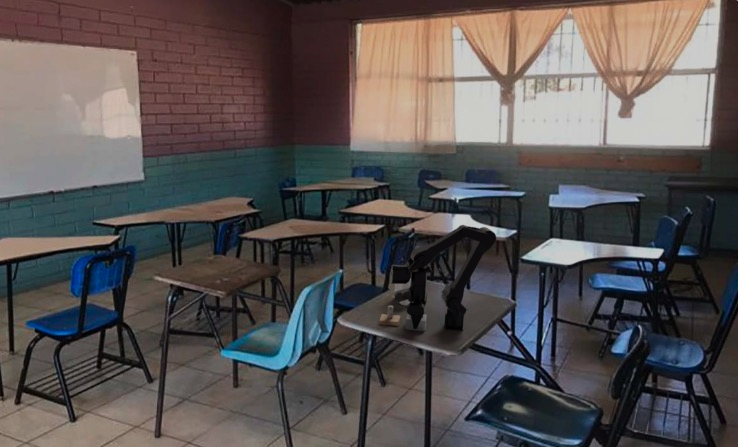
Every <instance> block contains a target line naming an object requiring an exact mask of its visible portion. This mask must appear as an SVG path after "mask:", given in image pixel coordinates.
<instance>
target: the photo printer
mask: <svg viewBox="0 0 738 447" xmlns="http://www.w3.org/2000/svg"><path fill="white" fill-rule="evenodd" d="M410 284H411V278H410V281H409V282H407V284H394V293H395V292H396V291H399V290H402V289H407V288H409V287H410ZM393 296H394V295H393ZM393 298H395V296H394V297H393ZM409 303H410V301H408V300H404V301H401V302H399V304H400V305H402V306H407V305H408V304H409Z"/></svg>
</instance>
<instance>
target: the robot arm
mask: <svg viewBox="0 0 738 447" xmlns="http://www.w3.org/2000/svg"><path fill="white" fill-rule="evenodd" d="M464 239H470V240H473V242H472V248H471V250H470V252H469V253H468V255H467V257H466V259H465V261H464V263H463V265H462V267H461V268H460V269H459V272H458V274H457V275H456V277H455V279H454V280H453V282H451V283H450V284H449V283H446V284H445V286H444V288H443V290H442V291H441V301H442V302H443V303H444V305H445V307H446V308H447V309H446V312H445V314H444V324H443V325H444V326H445V329H447V330H459V331H463V330H464V325H465V324H464V323H465V322H464V321H465V315H466V313H467V310H468V309H467V308H466V306H465V305H464V304H463V303H462V302H463V298H464V295H465V294H464V293H465V288H466V286H467V285H468V283H469V281H470V280H471V277H472V276H473V274H474V272H475V270H476V268H477V267H478V265H479V263H480V261H481V260H482V258H483V256H484V255H485V254H486V253H487V252H488V251H489V250H491V248H492V247H493V246H494V245H495V243H496V242H497V234H496V233H495V232H494V231H493V230H492V229H490V228H489V227H486V226H482V227H475V226H468V225H465V224H461V225H459V226H458V227H457V228H455V229H454V230H452V231H450V232H449V233H447V234H445V235H443V236H442V237H440V238H438V239H437V240H435V241H433V242H432V243H429V244H426V245H422V246H419V247H416V248H415V249H413V250H412V251H411V254H410V257H409V258H408V259H407V260H406V261H405V263H404V264H402V265H401V264H399V265H398V264H391V269H390V272H389V283H390V284H391V285H392V284H393V285H395V284H407V282H409V281H410V279H411V284H410V287H409V288H407V289H402V290H399V291H396V292H395V291H394V294H393V296H395V297H394V300H395V302H396V303H399V302H401V301H404V300H408V301H410V303H409V304H408V305H406V313H407V314H409V315H410V316H411V318H412V323H413V328H414V329H417V327H418V325H419V323H420V321H421V319H422V317H423V315H424V314H425V311H426V304H427V301H428V293H427V277H428V273H430V274H431V273H433V272H434V271H433V270H432V268H431V267H430V266H429V264H430V263H431V262H433V261H434V260H435V258H436V257H437V256H438V255H439V254H441V253H442V252H444V251H446V250H448V249H449V248H451V247H453V246H454V245H455V244H458V243H459V242H461V241H462V240H464ZM399 304H400V303H399Z"/></svg>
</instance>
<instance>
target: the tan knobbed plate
mask: <svg viewBox="0 0 738 447" xmlns="http://www.w3.org/2000/svg"><path fill="white" fill-rule="evenodd" d="M400 322H401V315H398V314H394V306H393V305H388V306H387V314H386V313H381V316H380V318H379V325H385V326H395V327H398V326H400V325H399V324H400Z"/></svg>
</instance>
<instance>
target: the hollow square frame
mask: <svg viewBox="0 0 738 447" xmlns="http://www.w3.org/2000/svg"><path fill="white" fill-rule="evenodd" d="M427 315H428V314H425V313H424V315H423V317H422V319H421V321H420V323H419V325H418V327H417V329H414V328H413V323H412V318H411V316H410V315H409V314H408V313H407V315H406V318H405V330H406V331H415V332H425V331H426V329H427V327H426V326H427Z"/></svg>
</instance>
